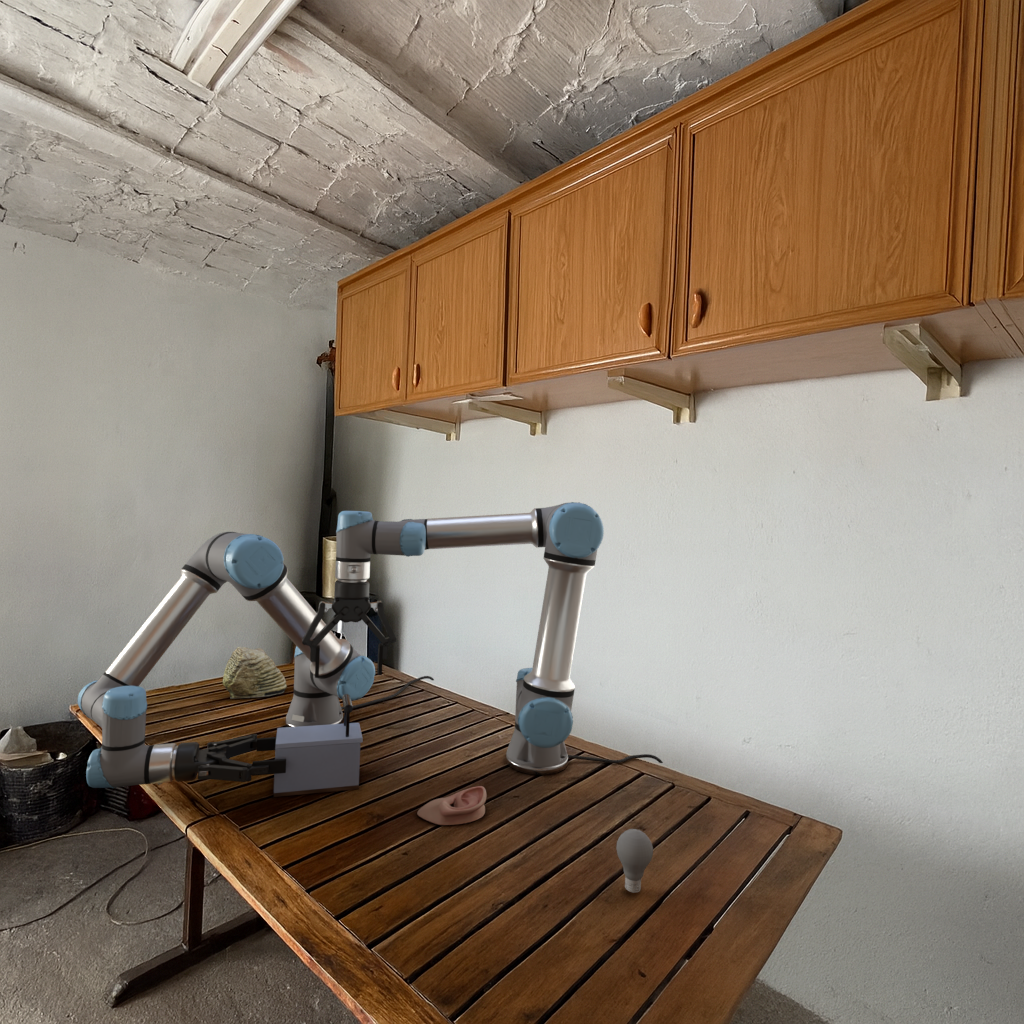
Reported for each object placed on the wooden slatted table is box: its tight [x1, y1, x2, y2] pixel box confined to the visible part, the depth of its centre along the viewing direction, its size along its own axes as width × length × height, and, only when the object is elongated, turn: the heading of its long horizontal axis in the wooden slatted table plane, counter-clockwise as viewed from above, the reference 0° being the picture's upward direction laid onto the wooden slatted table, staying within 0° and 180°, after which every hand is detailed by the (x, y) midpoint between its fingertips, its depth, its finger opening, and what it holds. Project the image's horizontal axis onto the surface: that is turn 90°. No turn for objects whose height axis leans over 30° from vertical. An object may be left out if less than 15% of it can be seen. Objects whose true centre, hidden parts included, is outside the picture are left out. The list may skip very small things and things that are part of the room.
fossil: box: [222, 646, 288, 699], centre depth 198 cm, size 9×18×15 cm, turn 132°
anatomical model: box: [416, 785, 488, 826], centre depth 129 cm, size 13×4×12 cm
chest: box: [272, 742, 361, 798], centre depth 140 cm, size 17×10×10 cm, turn 108°
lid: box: [275, 694, 363, 749], centre depth 140 cm, size 18×10×8 cm, turn 108°
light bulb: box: [615, 828, 654, 894], centre depth 106 cm, size 6×6×10 cm
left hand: (287, 753), depth 138 cm, fingers open, 12 cm apart
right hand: (348, 675), depth 141 cm, fingers open, 13 cm apart
